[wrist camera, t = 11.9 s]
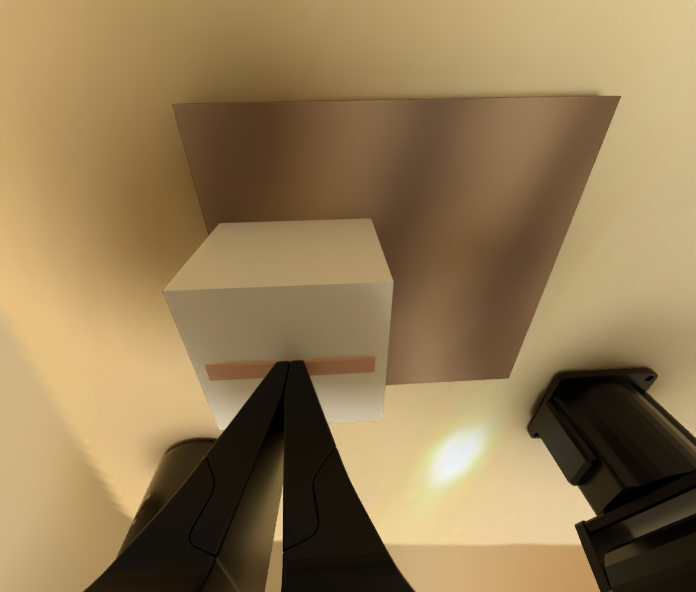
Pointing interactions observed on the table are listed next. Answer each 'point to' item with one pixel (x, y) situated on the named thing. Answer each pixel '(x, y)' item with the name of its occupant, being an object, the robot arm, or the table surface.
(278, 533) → the table surface
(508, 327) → the base plate
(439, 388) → the table surface
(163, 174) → the table surface
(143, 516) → the supplement bottle
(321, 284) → the white carton
